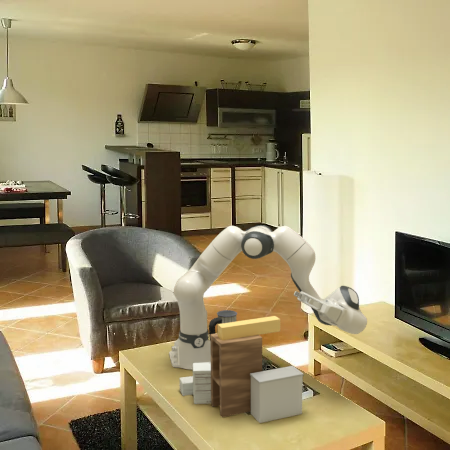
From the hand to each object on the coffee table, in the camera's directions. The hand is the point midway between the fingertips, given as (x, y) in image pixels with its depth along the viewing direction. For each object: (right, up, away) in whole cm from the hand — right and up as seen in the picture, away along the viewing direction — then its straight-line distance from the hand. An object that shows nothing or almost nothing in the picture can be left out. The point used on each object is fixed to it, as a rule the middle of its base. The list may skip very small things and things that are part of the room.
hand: (301, 296), depth 210 cm
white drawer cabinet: (-35, -37, +3) cm, 51 cm away
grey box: (-10, -39, -9) cm, 41 cm away
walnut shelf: (-23, -38, -3) cm, 45 cm away
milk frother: (-25, -29, +51) cm, 64 cm away
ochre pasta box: (-19, -12, -6) cm, 23 cm away
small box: (-41, -36, +9) cm, 55 cm away
